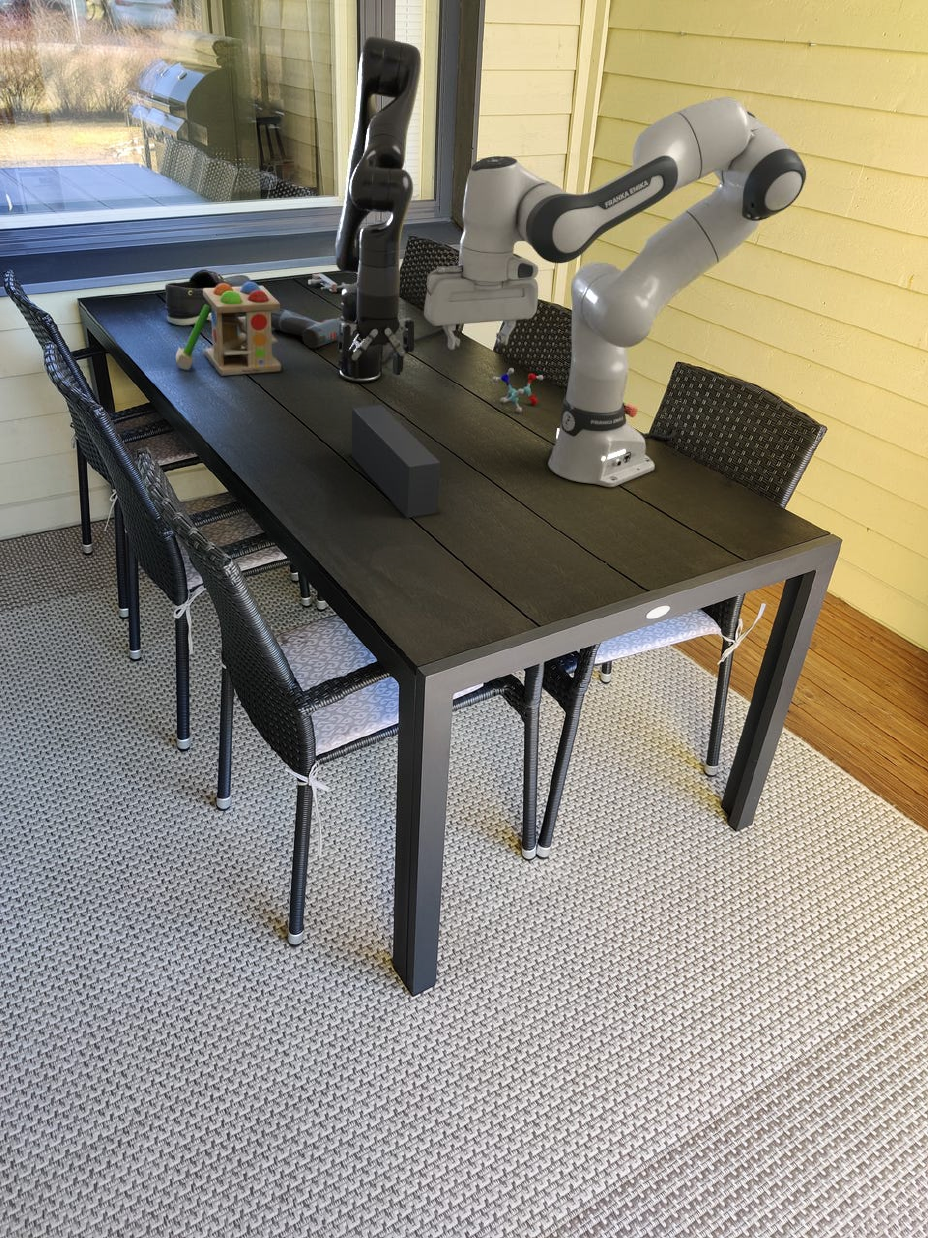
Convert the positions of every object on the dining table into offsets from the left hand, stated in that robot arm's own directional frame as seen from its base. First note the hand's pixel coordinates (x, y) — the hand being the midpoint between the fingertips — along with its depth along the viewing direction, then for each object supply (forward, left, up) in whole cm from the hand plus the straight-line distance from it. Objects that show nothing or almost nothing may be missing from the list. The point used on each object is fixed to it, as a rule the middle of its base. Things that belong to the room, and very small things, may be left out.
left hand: (375, 375), depth 184 cm
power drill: (-50, -58, -18) cm, 78 cm away
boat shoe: (-45, -89, -18) cm, 101 cm away
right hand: (-1, +21, +11) cm, 24 cm away
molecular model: (-46, +5, -18) cm, 50 cm away
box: (+5, +8, -18) cm, 20 cm away
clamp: (-84, -81, -18) cm, 118 cm away
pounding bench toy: (-18, -57, -18) cm, 62 cm away
